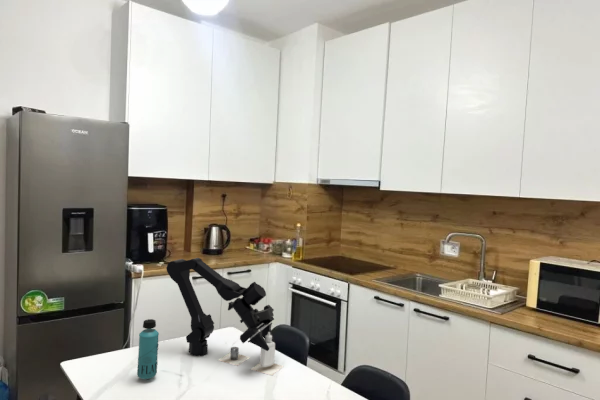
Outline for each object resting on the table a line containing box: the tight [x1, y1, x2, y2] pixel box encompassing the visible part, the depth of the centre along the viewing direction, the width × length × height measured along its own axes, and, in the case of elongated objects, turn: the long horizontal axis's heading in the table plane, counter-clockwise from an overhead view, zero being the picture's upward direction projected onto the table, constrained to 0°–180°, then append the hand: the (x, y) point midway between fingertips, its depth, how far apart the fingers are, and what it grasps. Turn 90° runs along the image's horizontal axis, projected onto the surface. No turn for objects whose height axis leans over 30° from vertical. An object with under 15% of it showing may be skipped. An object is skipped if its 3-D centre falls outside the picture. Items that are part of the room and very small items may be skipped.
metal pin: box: [230, 346, 240, 360], centre depth 154 cm, size 3×3×4 cm
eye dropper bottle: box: [259, 332, 276, 367], centre depth 148 cm, size 4×6×12 cm
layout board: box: [217, 351, 284, 376], centre depth 150 cm, size 24×12×1 cm, turn 65°
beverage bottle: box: [136, 318, 160, 380], centre depth 136 cm, size 6×7×20 cm
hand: (271, 347), depth 147 cm, fingers closed on eye dropper bottle, 5 cm apart
